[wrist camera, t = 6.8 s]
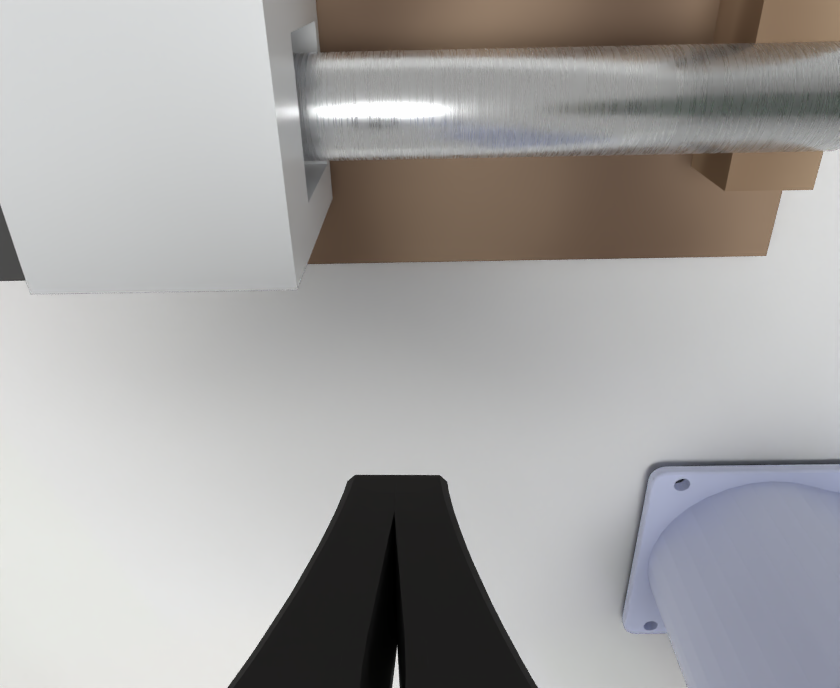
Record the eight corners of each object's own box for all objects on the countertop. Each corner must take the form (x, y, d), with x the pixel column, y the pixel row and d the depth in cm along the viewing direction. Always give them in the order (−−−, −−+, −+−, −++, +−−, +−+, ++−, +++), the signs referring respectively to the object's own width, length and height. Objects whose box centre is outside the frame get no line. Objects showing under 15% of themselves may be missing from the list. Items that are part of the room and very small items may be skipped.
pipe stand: (855, -144, 14) (1008, -185, 11) (760, 250, 19) (844, 320, 15) (-160, -120, 15) (-360, -151, 11) (-19, 264, 19) (-127, 336, 15)
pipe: (824, 30, 15) (890, 41, 13) (796, 141, 16) (852, 168, 14) (-120, 51, 15) (-208, 64, 13) (-79, 159, 16) (-153, 187, 14)
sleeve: (313, -31, 15) (258, -30, 10) (332, 198, 17) (297, 289, 12) (89, -26, 15) (-76, -23, 10) (141, 202, 17) (30, 294, 13)
